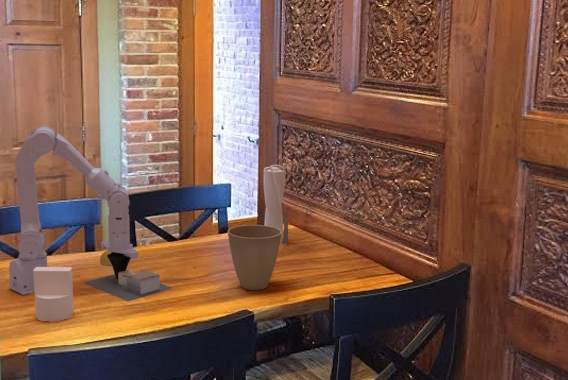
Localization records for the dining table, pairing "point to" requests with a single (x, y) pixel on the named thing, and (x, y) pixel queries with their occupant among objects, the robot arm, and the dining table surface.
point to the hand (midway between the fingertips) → (120, 278)
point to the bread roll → (105, 258)
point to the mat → (118, 288)
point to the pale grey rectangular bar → (124, 274)
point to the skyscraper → (275, 200)
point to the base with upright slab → (53, 293)
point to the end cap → (141, 283)
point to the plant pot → (254, 254)
